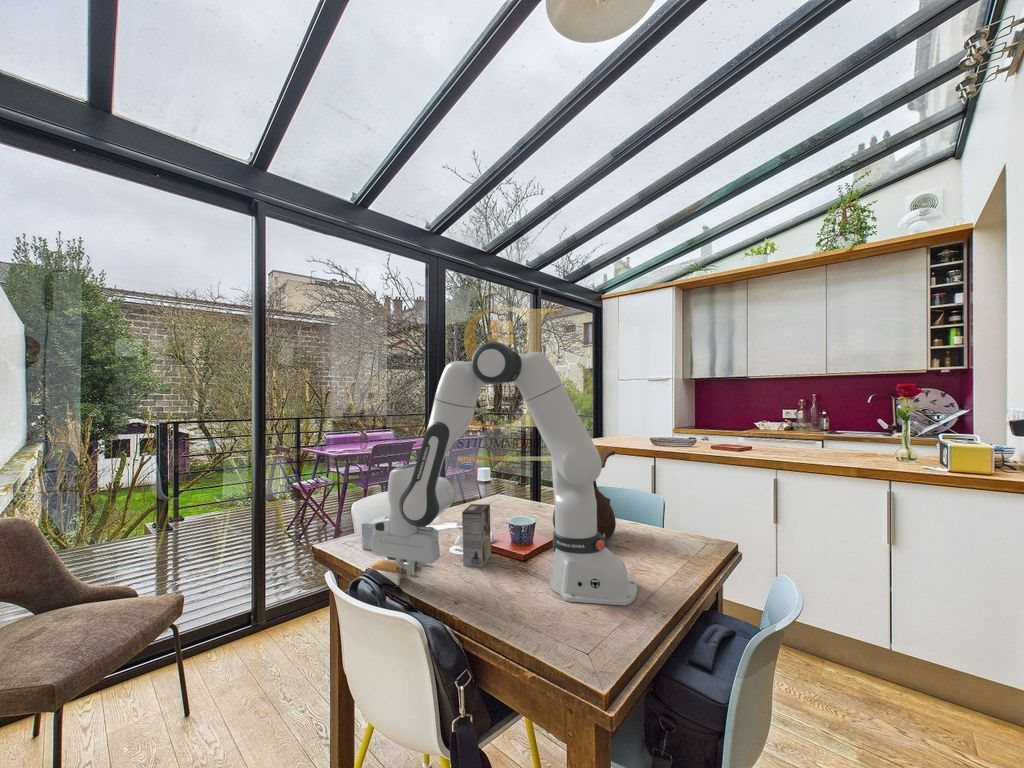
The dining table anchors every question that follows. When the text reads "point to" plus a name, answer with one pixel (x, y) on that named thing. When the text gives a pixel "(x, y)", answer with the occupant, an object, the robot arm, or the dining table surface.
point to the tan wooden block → (388, 567)
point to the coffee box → (476, 535)
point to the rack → (395, 576)
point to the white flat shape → (448, 526)
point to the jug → (602, 504)
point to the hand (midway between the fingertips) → (405, 574)
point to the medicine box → (368, 532)
